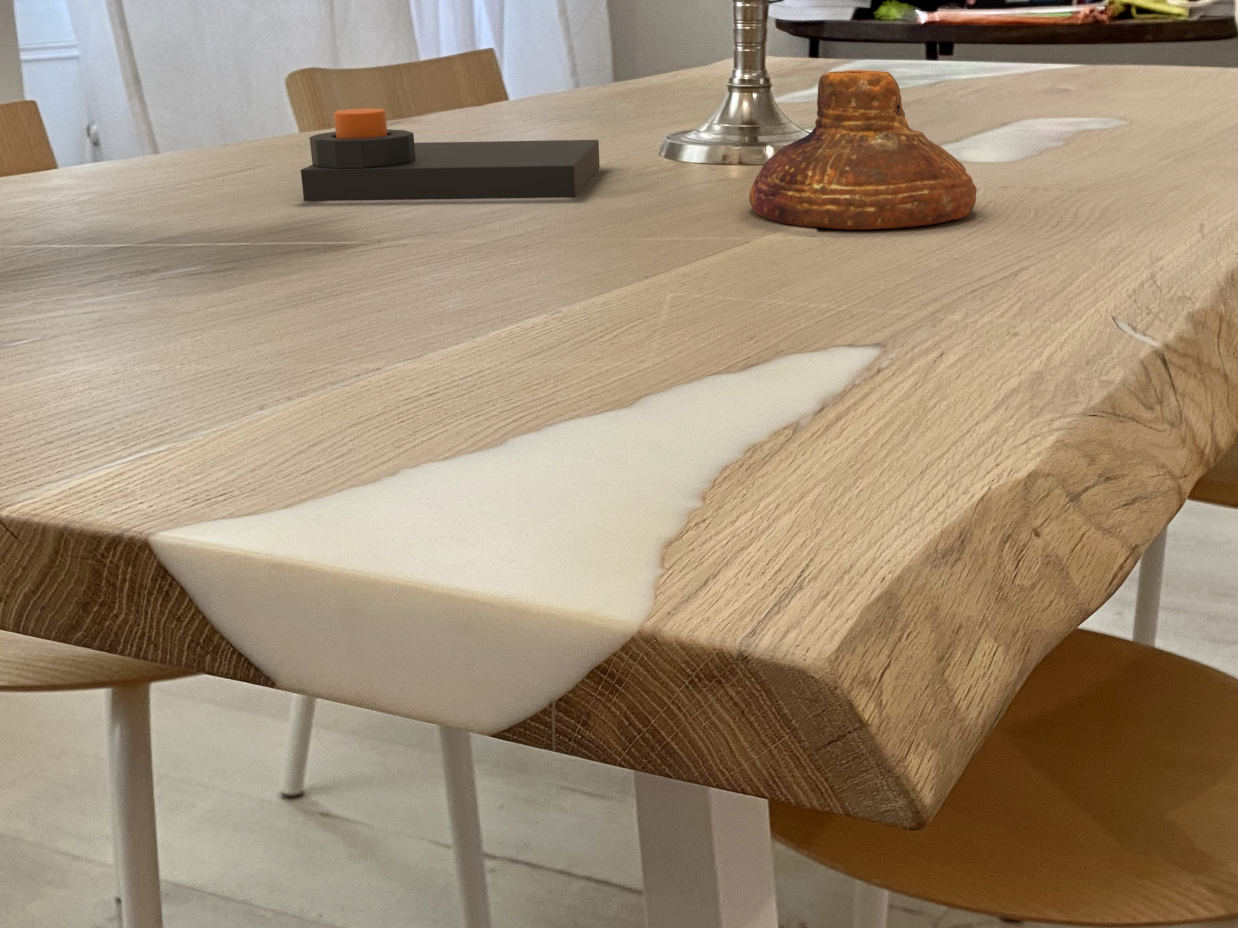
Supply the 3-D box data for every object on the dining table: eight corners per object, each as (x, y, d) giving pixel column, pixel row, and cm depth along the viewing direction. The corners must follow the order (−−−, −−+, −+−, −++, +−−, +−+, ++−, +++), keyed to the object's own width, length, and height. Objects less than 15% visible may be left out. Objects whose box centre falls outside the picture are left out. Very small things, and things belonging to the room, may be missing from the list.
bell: (795, 192, 84) (796, 61, 81) (1001, 202, 79) (1009, 63, 76) (711, 224, 74) (709, 76, 71) (940, 238, 69) (946, 79, 66)
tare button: (330, 144, 85) (327, 113, 84) (344, 138, 88) (341, 108, 87) (380, 143, 85) (378, 112, 84) (393, 137, 87) (390, 108, 87)
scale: (303, 202, 85) (296, 141, 83) (362, 172, 97) (356, 118, 95) (575, 198, 83) (572, 136, 82) (599, 169, 96) (597, 114, 94)
